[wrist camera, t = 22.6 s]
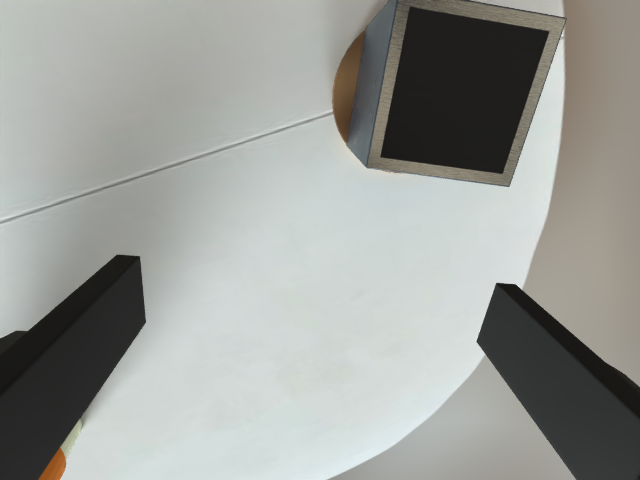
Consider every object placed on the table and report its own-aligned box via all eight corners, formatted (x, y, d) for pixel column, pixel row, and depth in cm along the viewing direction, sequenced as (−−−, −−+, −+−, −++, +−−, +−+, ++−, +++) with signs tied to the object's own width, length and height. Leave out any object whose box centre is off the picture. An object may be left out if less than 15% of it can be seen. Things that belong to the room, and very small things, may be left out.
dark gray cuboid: (510, 187, 24) (567, 17, 20) (365, 168, 23) (399, -13, 19) (444, 159, 35) (474, 46, 31) (346, 145, 34) (364, 28, 30)
